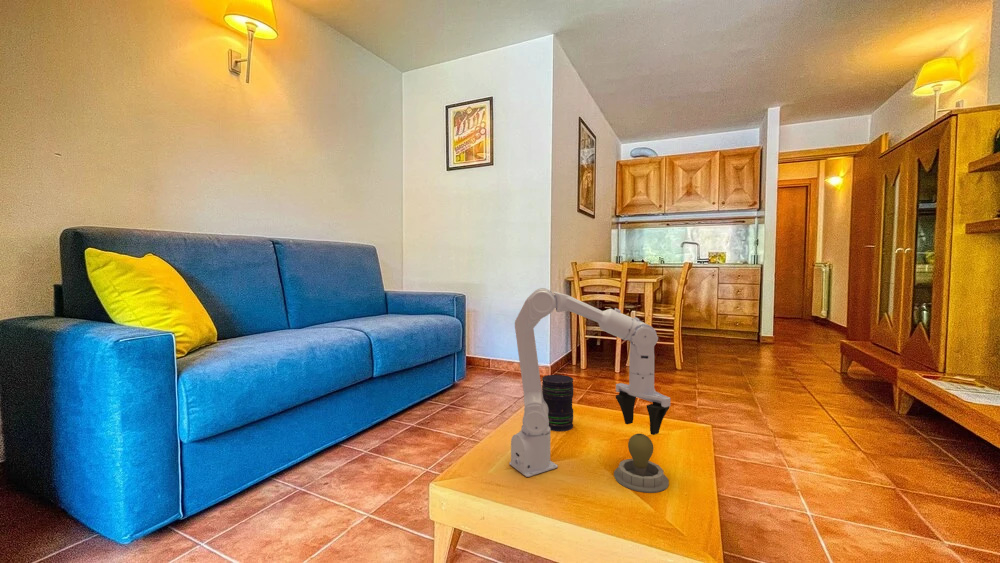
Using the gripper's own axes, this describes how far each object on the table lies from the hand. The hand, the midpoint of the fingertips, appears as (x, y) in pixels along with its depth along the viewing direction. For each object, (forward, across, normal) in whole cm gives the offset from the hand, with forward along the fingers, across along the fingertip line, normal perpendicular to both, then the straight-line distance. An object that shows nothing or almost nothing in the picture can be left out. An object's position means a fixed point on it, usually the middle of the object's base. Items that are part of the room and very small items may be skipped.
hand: (641, 428), depth 97 cm
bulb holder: (+10, -2, +3) cm, 11 cm away
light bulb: (+10, -2, +3) cm, 11 cm away
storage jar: (+11, +34, -2) cm, 35 cm away
